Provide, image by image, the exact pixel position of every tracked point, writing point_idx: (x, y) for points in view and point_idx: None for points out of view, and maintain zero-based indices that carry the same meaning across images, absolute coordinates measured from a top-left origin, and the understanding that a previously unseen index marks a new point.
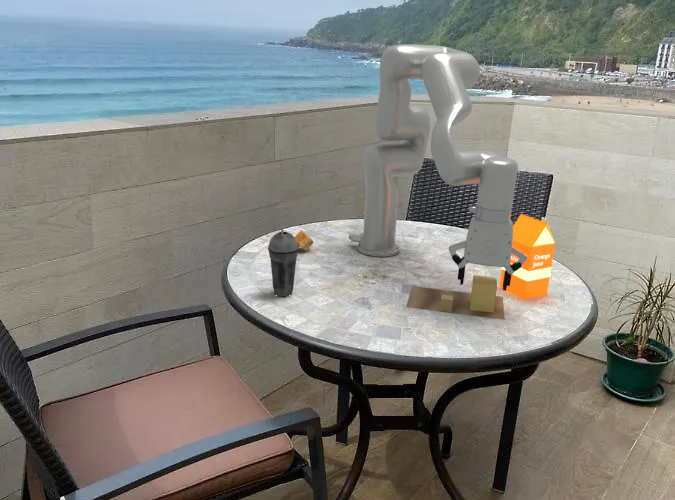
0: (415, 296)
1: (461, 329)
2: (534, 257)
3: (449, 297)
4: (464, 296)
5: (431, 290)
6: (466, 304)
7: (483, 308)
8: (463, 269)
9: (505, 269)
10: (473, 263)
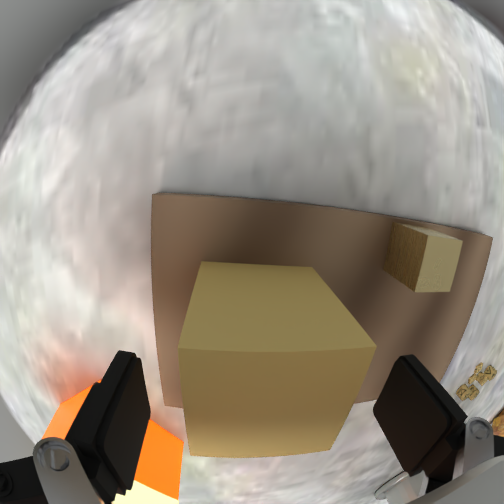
0: (458, 322)
1: (350, 111)
2: None
3: (433, 266)
4: None
5: None
6: None
7: (253, 269)
8: (460, 417)
9: (163, 498)
10: (468, 473)
